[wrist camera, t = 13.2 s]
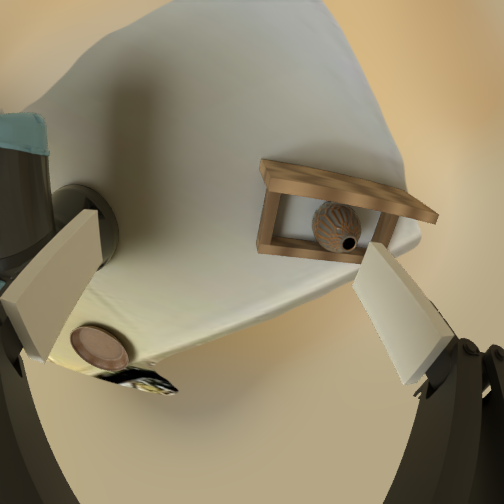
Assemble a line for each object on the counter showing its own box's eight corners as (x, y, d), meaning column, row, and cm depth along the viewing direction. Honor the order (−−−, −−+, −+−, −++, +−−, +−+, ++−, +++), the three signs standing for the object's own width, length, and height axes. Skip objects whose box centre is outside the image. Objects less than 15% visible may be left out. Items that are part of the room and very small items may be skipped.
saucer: (69, 311, 48) (65, 319, 46) (131, 330, 51) (128, 339, 49) (77, 352, 55) (74, 360, 53) (131, 368, 58) (129, 377, 56)
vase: (349, 232, 43) (371, 260, 35) (309, 240, 43) (325, 271, 36) (347, 192, 39) (373, 215, 32) (304, 200, 40) (322, 225, 32)
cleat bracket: (246, 242, 43) (250, 280, 34) (261, 158, 36) (270, 177, 28) (379, 257, 46) (405, 291, 37) (403, 190, 40) (439, 214, 31)
